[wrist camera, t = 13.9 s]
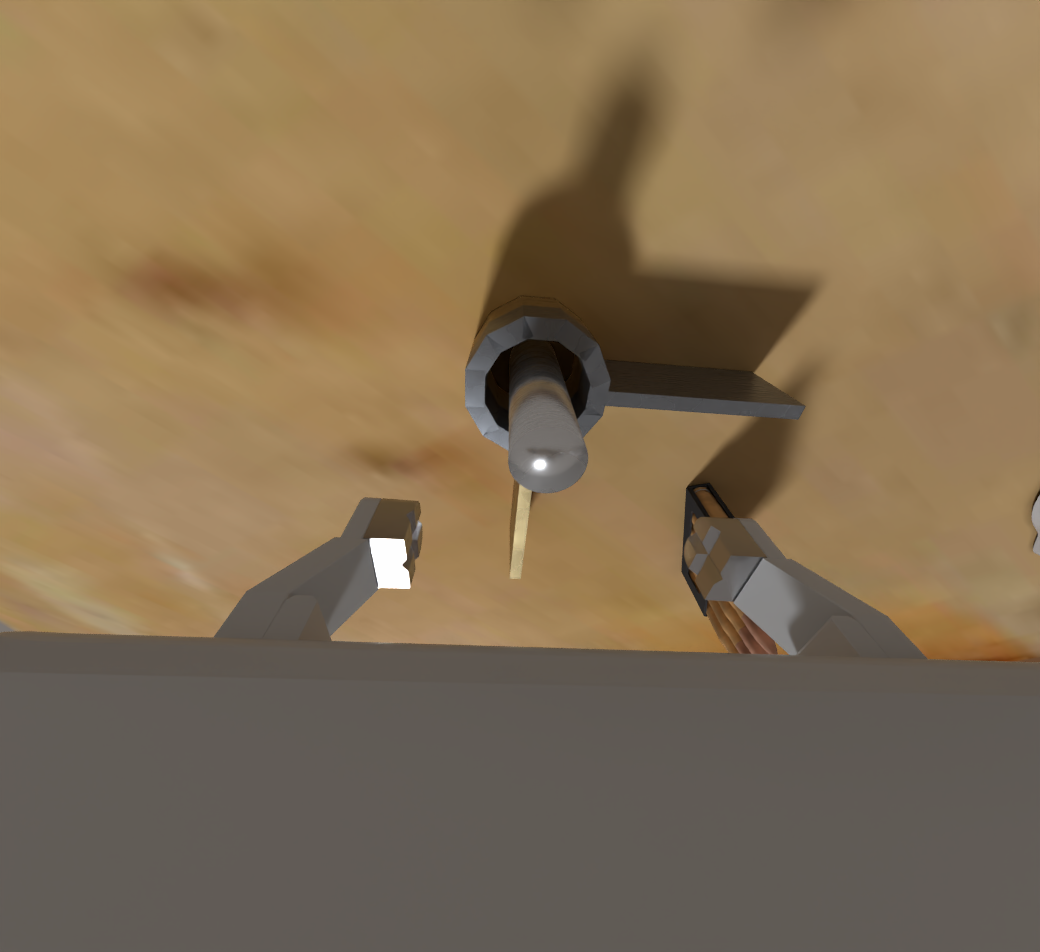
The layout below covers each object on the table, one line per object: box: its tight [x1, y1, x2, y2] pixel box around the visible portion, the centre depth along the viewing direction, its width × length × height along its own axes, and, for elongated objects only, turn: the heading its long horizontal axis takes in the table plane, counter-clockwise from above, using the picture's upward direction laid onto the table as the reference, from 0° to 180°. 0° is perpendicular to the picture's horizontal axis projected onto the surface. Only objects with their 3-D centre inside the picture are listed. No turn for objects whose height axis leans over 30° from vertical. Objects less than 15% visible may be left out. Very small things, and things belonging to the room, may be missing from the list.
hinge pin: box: [508, 339, 588, 493], centre depth 19 cm, size 3×3×12 cm
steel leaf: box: [465, 305, 806, 451], centre depth 22 cm, size 18×7×6 cm, turn 85°
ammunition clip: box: [682, 483, 778, 655], centre depth 28 cm, size 11×2×12 cm, turn 12°
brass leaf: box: [470, 296, 588, 579], centre depth 25 cm, size 7×18×6 cm, turn 175°
